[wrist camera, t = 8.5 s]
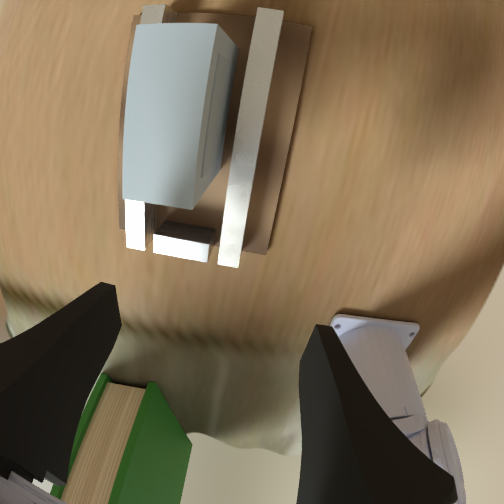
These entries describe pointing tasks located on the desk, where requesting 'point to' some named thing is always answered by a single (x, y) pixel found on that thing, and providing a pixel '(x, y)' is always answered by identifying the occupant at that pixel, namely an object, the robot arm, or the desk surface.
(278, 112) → the track floor
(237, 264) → the track rails
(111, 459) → the hardback book
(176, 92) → the pale blue rectangular block
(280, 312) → the desk surface
